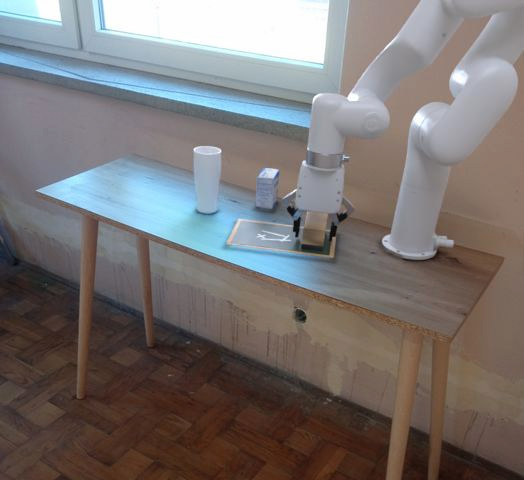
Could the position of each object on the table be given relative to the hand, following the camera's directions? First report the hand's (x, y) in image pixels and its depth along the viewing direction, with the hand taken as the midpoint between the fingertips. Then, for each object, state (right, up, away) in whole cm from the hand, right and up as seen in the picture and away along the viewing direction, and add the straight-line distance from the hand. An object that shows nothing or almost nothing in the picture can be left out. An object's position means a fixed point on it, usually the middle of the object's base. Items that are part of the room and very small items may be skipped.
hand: (313, 236), depth 127 cm
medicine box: (-11, +12, +19) cm, 25 cm away
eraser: (0, -1, +1) cm, 1 cm away
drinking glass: (-26, +9, +14) cm, 31 cm away
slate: (-7, -1, +2) cm, 7 cm away
